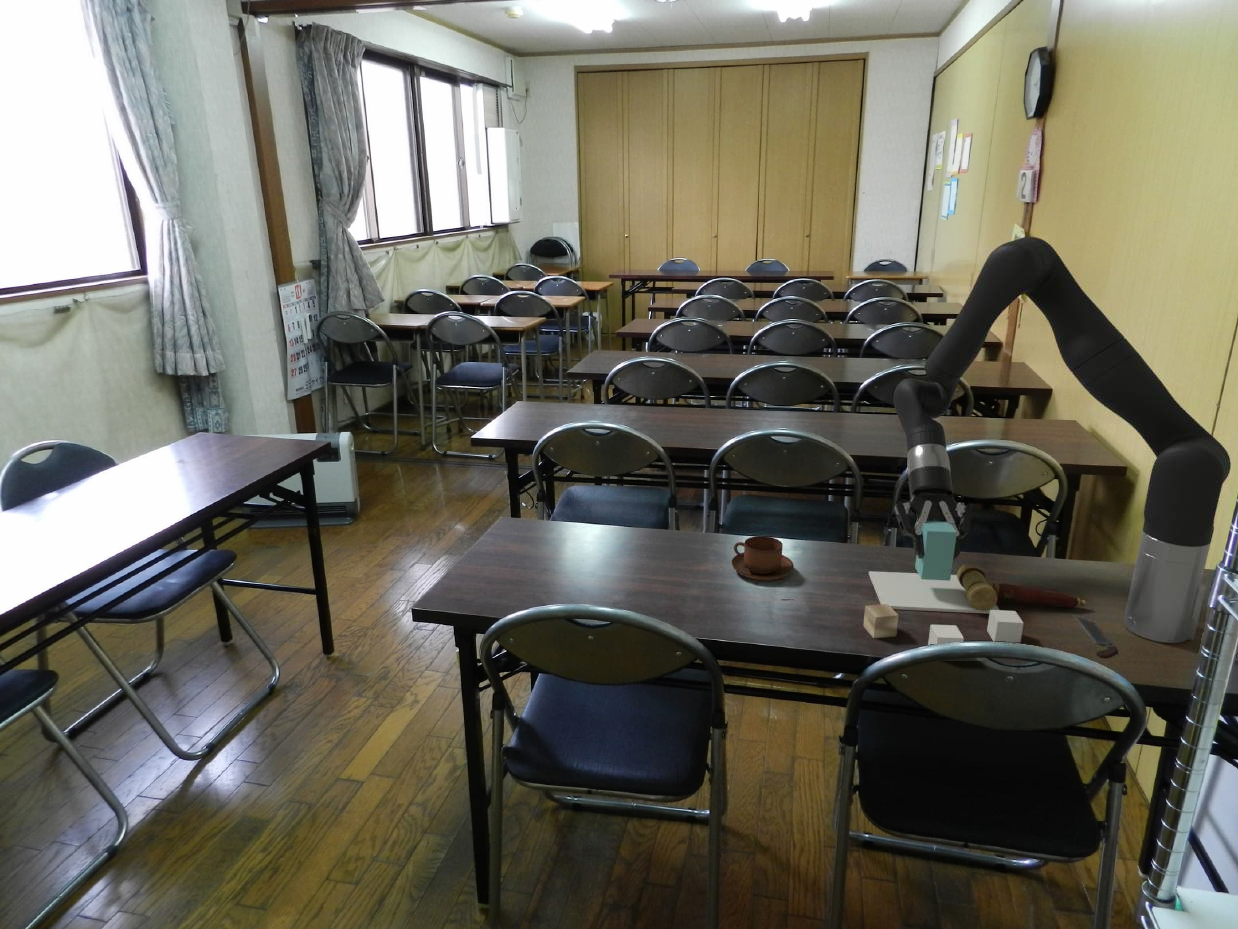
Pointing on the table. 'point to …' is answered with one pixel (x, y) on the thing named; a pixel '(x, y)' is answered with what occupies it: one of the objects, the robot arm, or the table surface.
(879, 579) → the white mat
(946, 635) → the white cube back
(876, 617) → the birch cube right
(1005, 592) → the gavel
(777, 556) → the cup and saucer
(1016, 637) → the grey cube left
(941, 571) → the teal block
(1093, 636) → the knife
